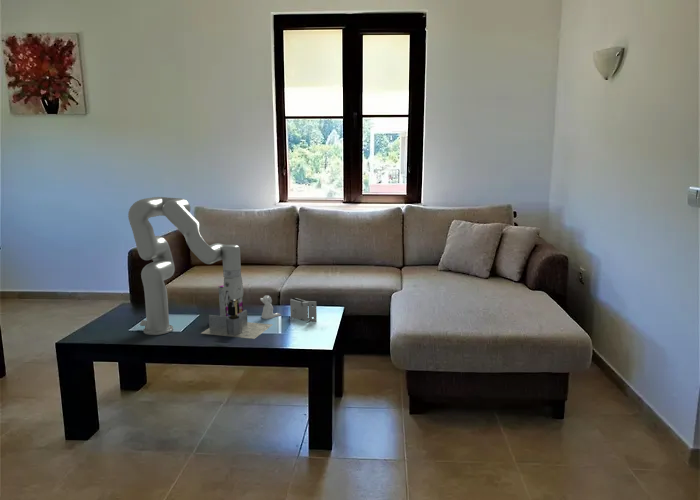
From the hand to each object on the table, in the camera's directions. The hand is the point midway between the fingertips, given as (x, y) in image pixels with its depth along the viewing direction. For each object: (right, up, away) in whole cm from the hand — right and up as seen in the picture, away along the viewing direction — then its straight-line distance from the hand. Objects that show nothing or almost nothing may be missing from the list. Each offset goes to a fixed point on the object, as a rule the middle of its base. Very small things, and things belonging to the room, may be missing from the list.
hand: (233, 313), depth 238 cm
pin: (0, -3, +1) cm, 3 cm away
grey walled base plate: (0, -9, +7) cm, 11 cm away
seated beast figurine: (+12, -6, +25) cm, 28 cm away
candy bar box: (-7, -5, +28) cm, 30 cm away
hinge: (+29, -6, +23) cm, 37 cm away
